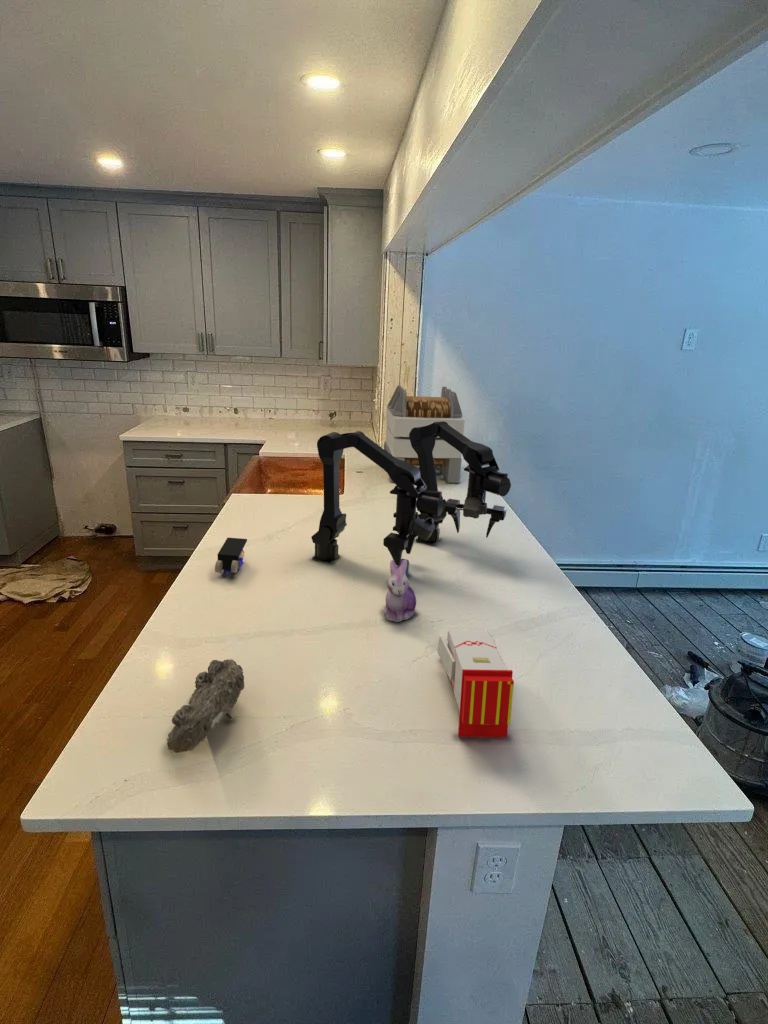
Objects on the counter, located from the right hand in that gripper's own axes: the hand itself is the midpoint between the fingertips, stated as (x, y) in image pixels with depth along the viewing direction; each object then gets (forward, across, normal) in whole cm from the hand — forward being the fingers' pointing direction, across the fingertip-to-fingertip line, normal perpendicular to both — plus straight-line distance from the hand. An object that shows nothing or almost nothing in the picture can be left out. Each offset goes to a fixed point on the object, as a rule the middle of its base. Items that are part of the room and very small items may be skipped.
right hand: (472, 534), depth 179 cm
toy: (+9, +13, -66) cm, 68 cm away
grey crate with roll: (+8, -42, +90) cm, 100 cm away
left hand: (+4, -17, -19) cm, 26 cm away
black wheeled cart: (+9, -64, -37) cm, 74 cm away
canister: (+9, -17, -19) cm, 27 cm away
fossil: (+9, -32, -93) cm, 99 cm away
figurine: (+9, -10, -42) cm, 44 cm away
